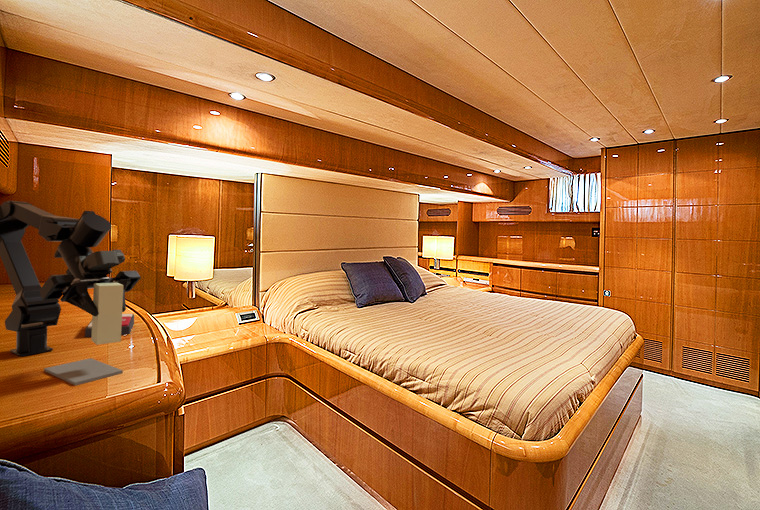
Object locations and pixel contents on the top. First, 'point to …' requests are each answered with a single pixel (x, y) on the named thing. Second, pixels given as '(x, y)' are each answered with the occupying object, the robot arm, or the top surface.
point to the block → (107, 313)
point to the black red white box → (125, 329)
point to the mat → (83, 371)
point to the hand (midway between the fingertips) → (110, 313)
